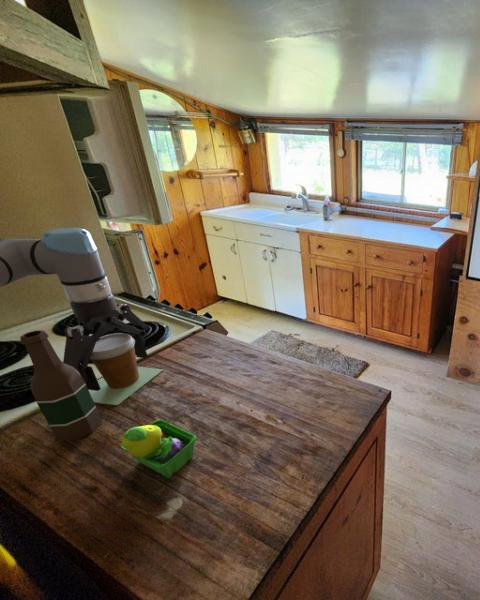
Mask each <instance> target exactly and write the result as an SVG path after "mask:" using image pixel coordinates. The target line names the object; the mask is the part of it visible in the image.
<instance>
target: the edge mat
mask: <svg viewBox="0 0 480 600" xmlns="http://www.w3.org/2000/svg"><path fill="white" fill-rule="evenodd" d="M137 367H138V373H139V379H138V380H137V381H136V382H135V383H133V384H131V385H129V386H127V387H123V388H118V389H113V388H110V387H109V386H108V384H107V383H106V381H105V380H104V378H101V379H99V380H97V381H98V383H99V385H100V388H101V389H100V390H99V391H95V390H89V393H90V395H91V397H92V399H93V401H94V404H100V405H101V404H102V405H110V406H115V407H116V406H117V407H118V406H119V405H120V404H122V403H123V402H124V401H125V400H127V399H128V398H130V397H131V396H132V395H133V394H135V393H136V392H138V391H139V390H140V389H141V388H143V387H144V386H145V385H146V384H148V383H149V382H151V380H153V379H154V378H155V377H157V376H158V375H159V374H160V373H162V372H163V371H164V369H162V368H154V367H146V366H145V367H144V366H137Z"/></svg>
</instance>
